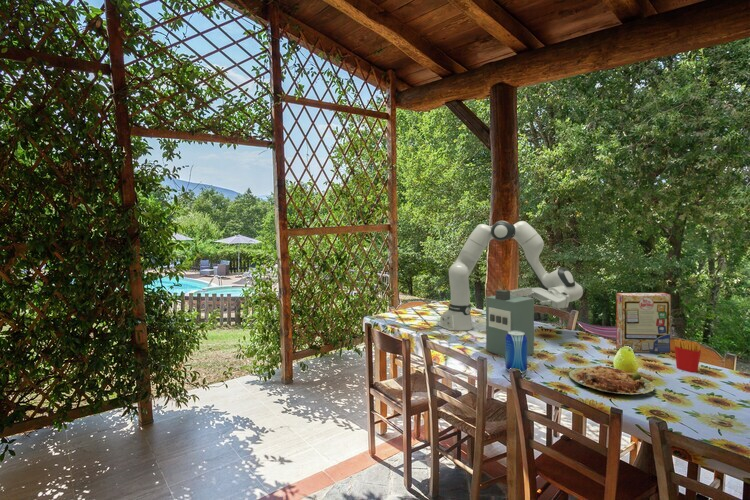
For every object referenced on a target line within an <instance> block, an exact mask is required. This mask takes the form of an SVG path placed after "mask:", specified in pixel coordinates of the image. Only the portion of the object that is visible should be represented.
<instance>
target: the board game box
mask: <svg viewBox="0 0 750 500" xmlns="http://www.w3.org/2000/svg"><path fill="white" fill-rule="evenodd" d="M671 301H672V295H671V294H670V293H669V294H668V293H666V292H617V293H616V303H615V304H616V308H615V309H616V310H615V311H616V313H615V314H616V316H615V317H616V323H615V324H616V325H615V326H616V329H615V331H616V334H615V336H616V337H615V339H616V340H615V342H616V343H615V348H616V350H618V349H620V348H622V347H624V346H629V347H631V348H632V349H633V351H634V352H633V353H644V354H645V353H650V354H653V353H654V354H671V321H672V320H671V316H672V315H671V313H672V312H671V311H672V310H671V309H672V306H671V304H672V303H671Z"/></svg>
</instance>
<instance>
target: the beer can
mask: <svg viewBox="0 0 750 500" xmlns="http://www.w3.org/2000/svg"><path fill="white" fill-rule="evenodd" d="M504 358H505V359H504V361H505V363H504V364H505V366H504V367H505V369H506V370H507V372H509V369H510V368H518V369H520V370H521V372H522V374H521V375H523V374H525V373H526V371H527V370H528V356H527V338H526V336H525V333H524V332H521V331H509V332H508V334H507V336H506V337H505V357H504Z"/></svg>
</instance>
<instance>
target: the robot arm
mask: <svg viewBox="0 0 750 500" xmlns="http://www.w3.org/2000/svg"><path fill="white" fill-rule="evenodd" d="M493 239H494V240H496V241H499V242H505V241H507V240H510V239H514V240H515V241H516V242H517V243H518V244H519V246H520V247H521V248H522V250H523V253H524V258H525V260H526V263H527V265H529V267H530V269H531V270H532V272H533V274H534V275H535V277H536V279H537V280H538V283H539V285H540V287H531V288H532V294H531V295H526V296H525V297H528V298H534V299H535V300H538V301H540V302H539V304H540V305H542V306H550V307H552V308H554V309H558V310H559V309H565V308H568V307H569V304H570V302H575V301H578V300H579V299H581V298H582V296H583V294H584V289H583V287H582V285H580V284H579V283H578V282H576V280H575V277H574V275H573V273H572V272H571V270H570V269H568V268H566V267H559V268H556V270H553V271H552V272H547V271H546V269H545V268H544V266H543V264H542V263H541V262H540V255H541V253H542V252H543V250H544V247H545V243H544V240H543V238H542V237H541V235H540V234H539V233H538V232H537V231H536V229H535V228H534V227H533V226H532V225H530V224H529V223H528V222H527V221H524V220H519V221H517V222H516V223H514V224H511V223H509V222H508V221H505V220H498V221H496V222H495V223H494V224H492V225H487V224H485V223H479V224H478V225H477V226H476V227H475V228H474V229H473V230H472V232H471V233H470V235H469V236H468V238H467V240H466V241H465V243H464V245H463V247H462V248H461V250H460V252H459V254H458V256H457V257H456V260H455V261H454V263H453V264H451V265H450V266H449V269H448V282H449V289H450V303H447V307H448V309H447V310H445V311H444V312H443V313H442V314H441V315H440V320H439V321H437V322H436V324H437V325H436V326H438V325H439V326H438V327H440V328H443V329H445V330H448V331H463V332H464V331H470V330H473V329H474V327H473V322H472V315H471V310H472V309H471V308H472V305H471V289H470V279H469V276H470V275H471V273H472V271H473V270H474V268H475V267H476V265H477V263H478V261H479V259H480V258H481V256H482V254H483V253H484V252H485V249H486V248H487V246H488V244H489V243H490V241H492V240H493Z"/></svg>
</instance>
